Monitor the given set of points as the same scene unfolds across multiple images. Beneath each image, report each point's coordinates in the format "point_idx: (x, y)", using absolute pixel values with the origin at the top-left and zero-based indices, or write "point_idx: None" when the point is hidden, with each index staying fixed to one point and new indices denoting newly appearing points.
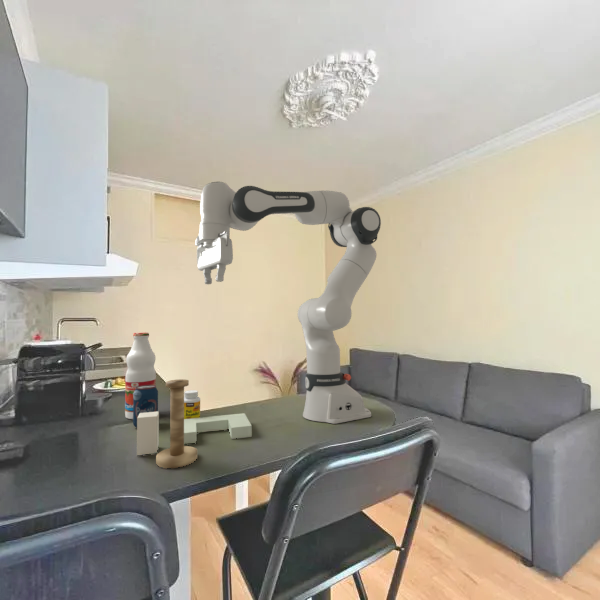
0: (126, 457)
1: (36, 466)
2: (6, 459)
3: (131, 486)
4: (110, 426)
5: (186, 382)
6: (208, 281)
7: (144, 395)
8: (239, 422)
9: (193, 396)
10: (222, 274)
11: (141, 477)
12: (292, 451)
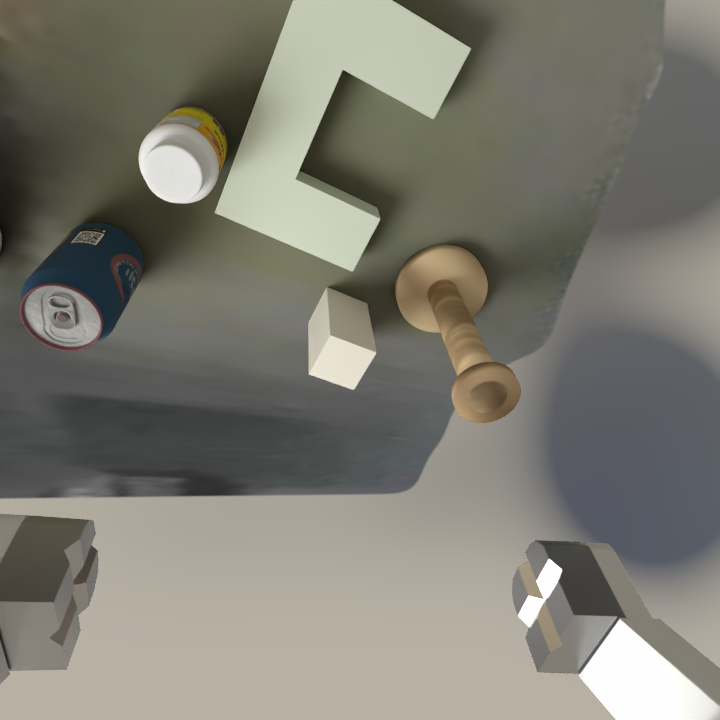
0: None
1: (262, 465)
2: (184, 495)
3: None
4: None
5: (518, 382)
6: (75, 585)
7: (116, 322)
8: (406, 59)
9: (204, 172)
10: (659, 642)
11: None
12: (654, 33)
